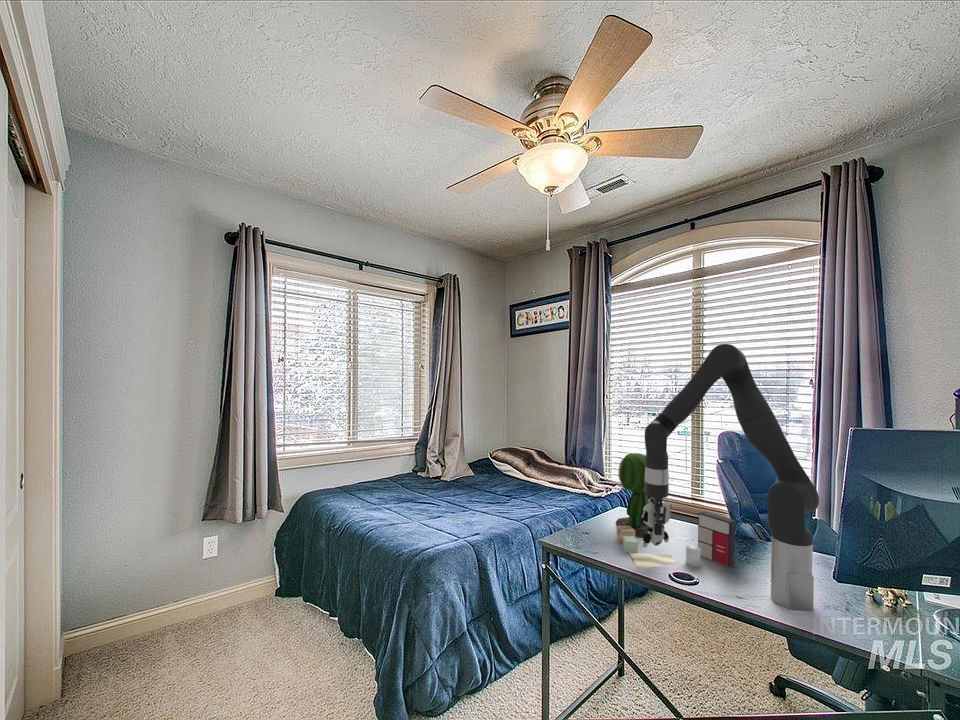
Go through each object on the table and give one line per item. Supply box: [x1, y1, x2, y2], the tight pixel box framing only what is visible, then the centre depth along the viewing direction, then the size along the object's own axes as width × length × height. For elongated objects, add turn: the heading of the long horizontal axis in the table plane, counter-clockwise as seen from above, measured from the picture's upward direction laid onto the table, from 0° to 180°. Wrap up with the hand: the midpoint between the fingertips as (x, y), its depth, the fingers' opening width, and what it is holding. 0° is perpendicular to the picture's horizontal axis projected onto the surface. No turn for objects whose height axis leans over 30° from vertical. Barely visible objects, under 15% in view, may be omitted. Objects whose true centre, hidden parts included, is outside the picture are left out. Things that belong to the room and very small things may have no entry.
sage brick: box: [622, 536, 639, 553], centre depth 159 cm, size 5×4×4 cm
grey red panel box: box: [697, 510, 737, 566], centre depth 151 cm, size 11×4×15 cm, turn 34°
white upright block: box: [685, 544, 702, 568], centre depth 147 cm, size 4×4×6 cm
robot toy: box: [641, 501, 674, 548], centre depth 149 cm, size 12×4×15 cm, turn 113°
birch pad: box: [629, 552, 678, 570], centre depth 148 cm, size 12×14×1 cm
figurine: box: [615, 452, 649, 539], centre depth 178 cm, size 17×20×30 cm
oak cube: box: [616, 525, 636, 546], centre depth 166 cm, size 5×5×5 cm
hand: (655, 531), depth 149 cm, fingers closed on robot toy, 5 cm apart
